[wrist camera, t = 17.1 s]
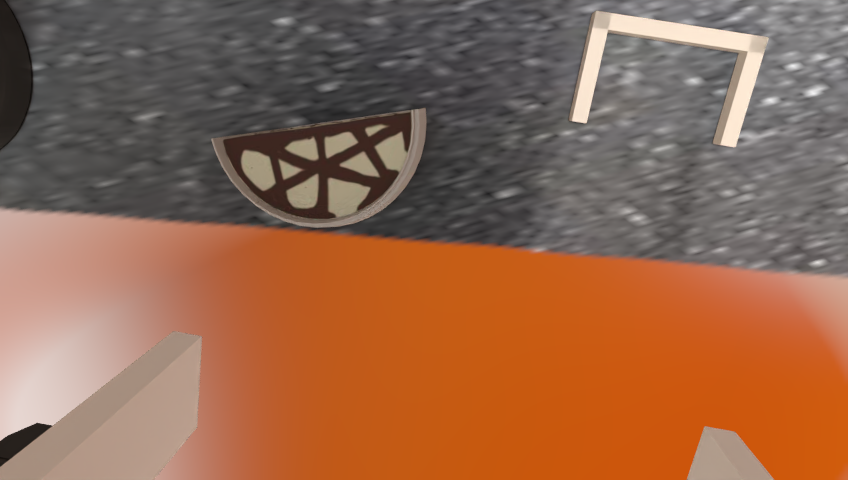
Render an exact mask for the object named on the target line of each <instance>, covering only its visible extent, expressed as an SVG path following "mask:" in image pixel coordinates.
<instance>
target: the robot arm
mask: <svg viewBox="0 0 848 480" xmlns="http://www.w3.org/2000/svg"><path fill="white" fill-rule="evenodd" d="M30 93H31V67H30V60H29V55H28V50H27V47H26V43H25V40H24V37H23V35H22V32H21V30H20V27H19V25H18V23H17V21H16V19H15V17H14V16H13V14H12V12H11V10H10V9H9V7H8V6H7V4H6V3H5V1H4V0H0V149H1V148H2V147H3V146H4V145H5V144H7V143H8V142H9V141H10V139H11V138H12V137H13V136H14V135H15V133H16V132H17V130H18V129H19V127H20V125H21V123H22V121H23V119H24V117H25V114H26V111H27V108H28V104H29V100H30ZM201 342H202V337H201V336H197V335H192V334H186V333H181V332H175V331H173V332H172V333H171V334H169V335H168V336H167V337H165V338H164V339H163V340H162V341H160V342H159V343H158V344H157V345H155V346H154V347H153V348H151V349H150V350H149V351H148V352H146V353H145V354H144V355H143V356H141V357H140V358H139V359H138V360H136V361H135V362H134V363H132V364H131V365H130V366H129V367H127V368H126V369H125V370H124V371H122V372H121V373H120V374H118V375H117V376H116V377H114V378H113V379H112V380H111V381H109V382H108V383H107V384H106V385H104V386H103V387H102V388H100V389H99V390H98V391H97V392H95V393H94V394H93V395H92V396H90V397H89V398H88V399H86V400H85V401H84V402H83V403H81V404H80V405H79V406H77V407H76V408H75V409H74V410H72V411H71V412H70V413H68V414H67V415H66V416H65V417H63V418H62V419H61V420H60V421H58V422H57V423H56V424H54V425H53V426H51V425H46V424H40V423H36V424H34V425H32V426H29V427H27V428H24V429H22V430H20V431H18V432H15V433H13V434H11V435H8V436H7V437H5V438H4V439H3V440H1V441H0V480H154V479H155V477H156V476H157V475H158V474H159V473H160V472H161V470H162V469H163V468H164V467H165V466H166V464H167V463H168V462H169V461H170V459H171V458H172V457H173V456H174V455H175V453H176V452H177V451H178V450H179V449H180V447H181V446H182V445H183V444H184V443H185V441H186V440H187V439H188V438H189V437H190V435H191V434H192V433H193V432H194V430H195V429H196V428H197V420H198V418H197V417H198V401H199V381H200V362H201V344H202V343H201ZM687 480H774V479H773V478H772V477H771V475H770V474H769V473H768V472H767V470H766V469H765V468H764V467H763V465H762V464H761V463H760V462H759V461H758V459H757V458H756V457H755V456H754V454H753V453H752V452H751V451H750V450H749V448H748V447H747V446H746V445H745V444H744V442H743V441H742V440H741V439H740V437H739V436H738V435H737V434H736V433H735V432H733V431H728V430H722V429H716V428H711V427H704V430H703V433H702V436H701V439H700V442H699V445H698V448H697V451H696V454H695V457H694V460H693V463H692V466H691V469H690V472H689V475H688V478H687Z"/></svg>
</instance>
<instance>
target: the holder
mask: <svg viewBox="0 0 848 480" xmlns="http://www.w3.org/2000/svg"><path fill="white" fill-rule="evenodd" d="M607 33H613V34H620V35H626V36H632V37H639V38H645V39H652V40H658V41H665V42H671V43H677V44H684V45H690V46H697V47H703V48H710V49H716V50H722V51H729V52H735V53H739V54H738V57H737V61H736V64H735V68H734V71H733V75H732V78H731V81H730V85H729V88H728V92H727V95H726V99H725V102H724V105H723V109H722V112H721V116H720V119H719V123H718V126H717V129H716V133H715V136H714V140H713V143H712V144H717V145H724V146H730V147H736V143H737V140H738V137H739V134H740V130H741V127H742V124H743V120H744V117H745V114H746V110H747V107H748V104H749V101H750V97H751V94H752V91H753V87H754V84H755V81H756V78H757V74H758V71H759V68H760V64H761V61H762V58H763V54H764V51H765V48H766V45H767V41H768V38H769V37H763V36H756V35H750V34H743V33H737V32H730V31H724V30H717V29H711V28H704V27H698V26H691V25H685V24H678V23H672V22H665V21H659V20H653V19H646V18H640V17H633V16H627V15H620V14H614V13H607V12H601V11H595V12H594V13H592V16H591V21H590V25H589V30H588V34H587V39H586V43H585V48H584V53H583V57H582V62H581V66H580V71H579V75H578V80H577V84H576V89H575V93H574V98H573V102H572V107H571V111H570V116H569V121H575V122H581V123H587V119H588V115H589V110H590V106H591V102H592V97H593V93H594V89H595V84H596V80H597V76H598V71H599V67H600V62H601V58H602V54H603V49H604V45H605V41H606V36H607Z"/></svg>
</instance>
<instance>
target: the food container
mask: <svg viewBox="0 0 848 480" xmlns="http://www.w3.org/2000/svg"><path fill="white" fill-rule="evenodd" d="M425 135H426V108H422V109H415V110H408V111H401V112H394V113H387V114H380V115H373V116H366V117H359V118H352V119H345V120H338V121H331V122H324V123H317V124H310V125H303V126H296V127H289V128H282V129H275V130H269V131H262V132H255V133H248V134H241V135H234V136H227V137H220V138H213V139H211V140H212V143H213V146H214V149H215V152H216V155H217V157H218V159H219V161H220V163H221V165H222V167H223V169H224V171H225V172H226V174H227V175H228V177H229V178H230V180H231V181H232V183H233V184H234V185H235V186H236V187H237V188H238V189H239V191H240V192H241V193H242V194H243V195H244V196H245V197H246V198H248V199H249V200H250V201H251V202H252V203H253V204H255V205H256V206H257V207H259V208H260V209H262V210H263V211H265V212H267V213H268V214H270V215H272V216H274V217H276V218H278V219H281V220H283V221H285V222H289V223H292V224H296V225H300V226H307V227H316V228H318V227H339V226H344V225H348V224H353V223H356V222H359V221H362V220H364V219H367V218H369V217H371V216H373V215H374V214H376V213H378V212H380V211H381V210H383V209H384V208H385V207H386V206H388V205H389V204H390V203H391V202H393V201H394V200H395V199H396V198H397V197H398V195H399V194H400V193H401V192H402V191H403V190H404V189H405V187H406V186H407V184H408V183H409V181H410V179H411V178H412V176H413V175H414V173H415V170H416V168H417V166H418V163H419V161H420V159H421V155H422V151H423V147H424V143H425Z"/></svg>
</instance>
